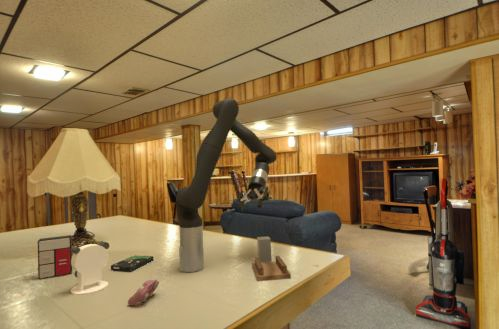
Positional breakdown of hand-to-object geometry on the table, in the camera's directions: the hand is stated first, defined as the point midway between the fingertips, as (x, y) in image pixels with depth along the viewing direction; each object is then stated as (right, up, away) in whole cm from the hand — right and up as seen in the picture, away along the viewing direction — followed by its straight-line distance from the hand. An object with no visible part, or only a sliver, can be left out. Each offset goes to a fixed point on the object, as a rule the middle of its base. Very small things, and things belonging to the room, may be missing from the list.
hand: (249, 208), depth 119 cm
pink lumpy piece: (-33, -24, -30) cm, 51 cm away
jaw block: (+6, -23, +2) cm, 24 cm away
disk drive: (-50, -26, +4) cm, 56 cm away
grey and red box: (-77, -26, -5) cm, 82 cm away
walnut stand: (+8, -22, -11) cm, 26 cm away
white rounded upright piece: (-56, -25, -19) cm, 64 cm away
